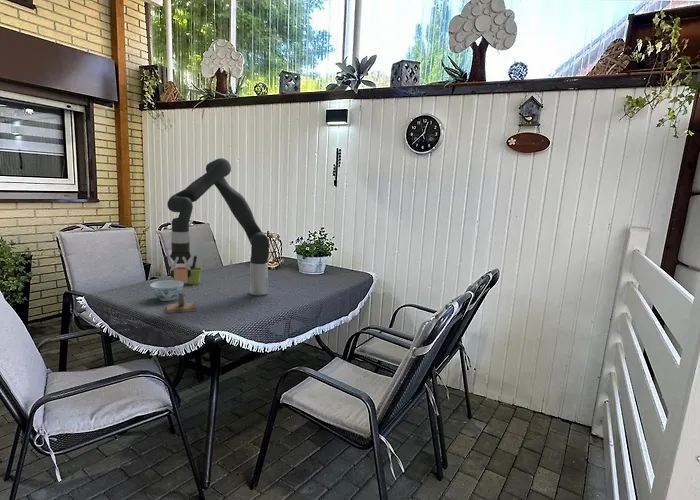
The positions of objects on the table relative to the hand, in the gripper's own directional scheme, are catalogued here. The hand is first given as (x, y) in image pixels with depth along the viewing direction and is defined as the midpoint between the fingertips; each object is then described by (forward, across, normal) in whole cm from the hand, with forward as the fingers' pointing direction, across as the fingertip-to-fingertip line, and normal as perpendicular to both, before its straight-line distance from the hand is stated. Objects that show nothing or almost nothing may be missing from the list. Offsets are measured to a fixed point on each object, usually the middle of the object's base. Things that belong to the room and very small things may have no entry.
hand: (180, 277), depth 175 cm
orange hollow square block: (0, 0, 0) cm, 0 cm away
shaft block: (+15, 0, 0) cm, 15 cm away
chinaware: (+15, +7, -18) cm, 24 cm away
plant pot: (+15, -5, -47) cm, 49 cm away
